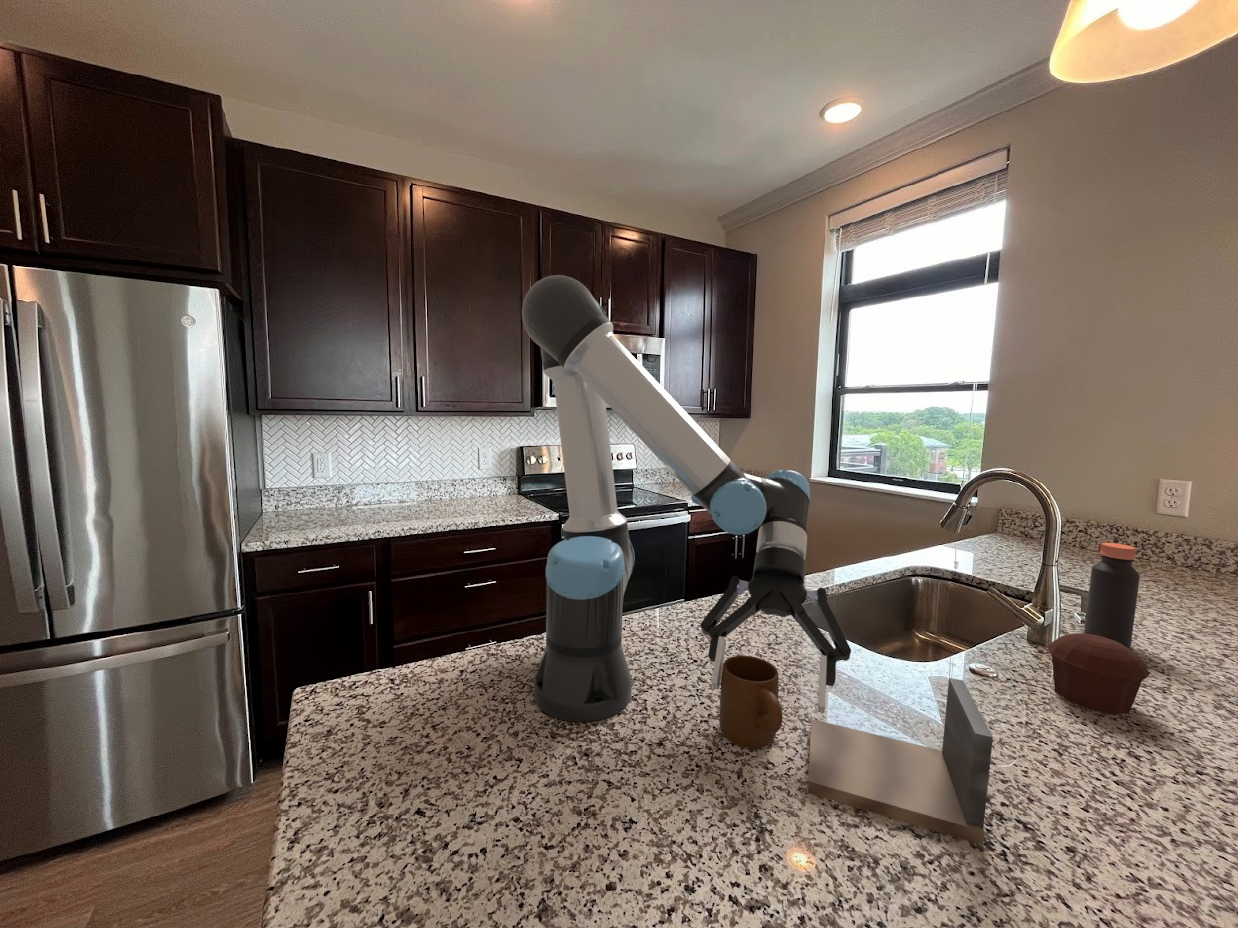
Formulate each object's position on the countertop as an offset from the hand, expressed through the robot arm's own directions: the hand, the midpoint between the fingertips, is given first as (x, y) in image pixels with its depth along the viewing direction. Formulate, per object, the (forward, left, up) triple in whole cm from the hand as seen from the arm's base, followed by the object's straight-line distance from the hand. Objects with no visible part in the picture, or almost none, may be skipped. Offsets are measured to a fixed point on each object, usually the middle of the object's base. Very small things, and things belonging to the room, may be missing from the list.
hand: (766, 697), depth 66 cm
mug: (-1, -1, -7) cm, 7 cm away
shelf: (+14, -1, -6) cm, 16 cm away
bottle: (+60, +61, -7) cm, 86 cm away
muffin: (+47, +33, -7) cm, 58 cm away
